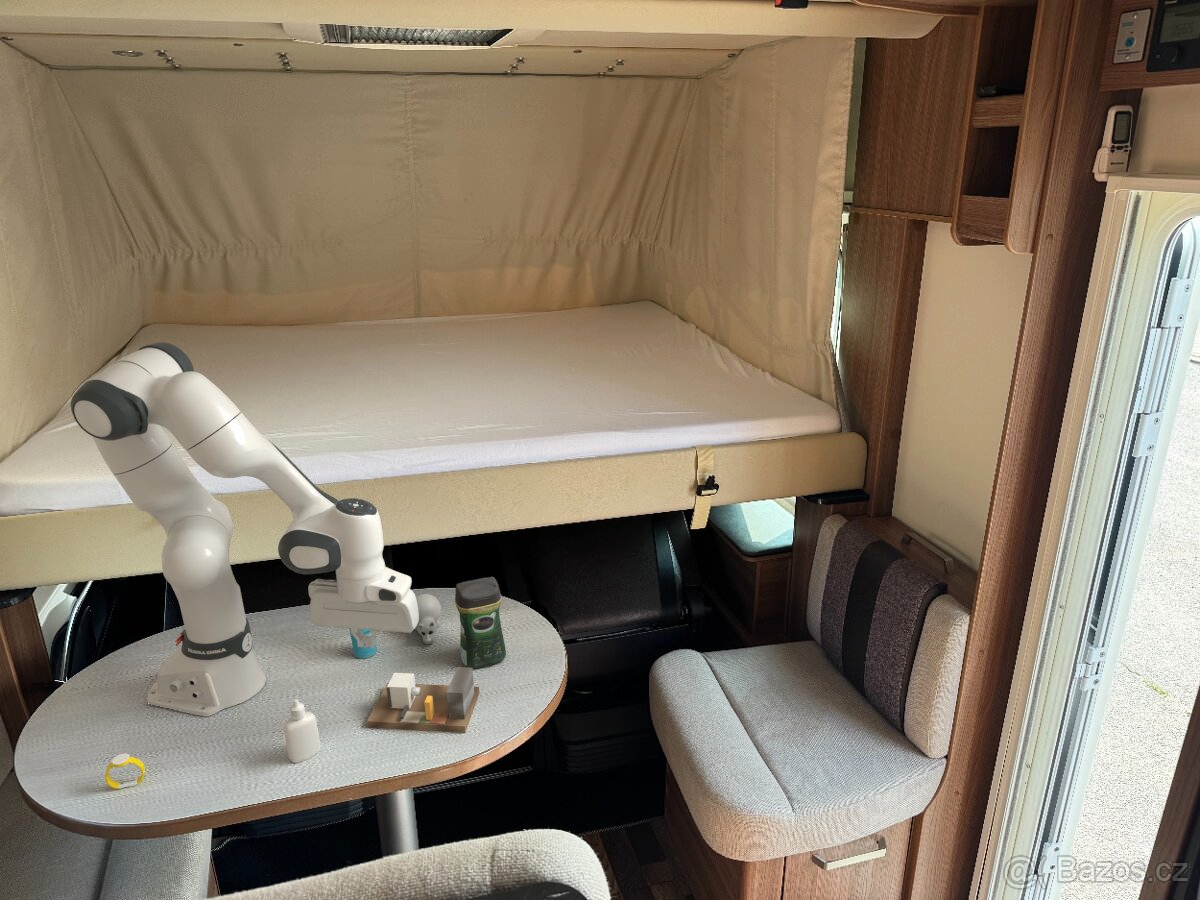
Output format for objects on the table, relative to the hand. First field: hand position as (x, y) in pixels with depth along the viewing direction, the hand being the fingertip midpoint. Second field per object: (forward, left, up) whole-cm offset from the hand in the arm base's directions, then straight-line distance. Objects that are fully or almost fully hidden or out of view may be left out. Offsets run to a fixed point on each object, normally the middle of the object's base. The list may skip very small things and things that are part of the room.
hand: (366, 645), depth 164 cm
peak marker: (+13, -4, -12) cm, 18 cm away
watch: (-36, -24, -15) cm, 46 cm away
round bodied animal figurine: (+3, +26, -15) cm, 30 cm away
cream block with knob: (+7, -2, -12) cm, 14 cm away
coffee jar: (+18, +18, -15) cm, 29 cm away
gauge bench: (+10, 0, -14) cm, 18 cm away
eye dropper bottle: (-8, -14, -15) cm, 22 cm away
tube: (-8, +18, -15) cm, 25 cm away
